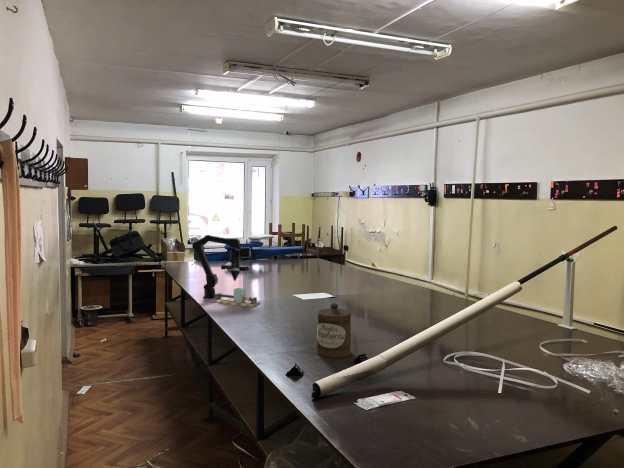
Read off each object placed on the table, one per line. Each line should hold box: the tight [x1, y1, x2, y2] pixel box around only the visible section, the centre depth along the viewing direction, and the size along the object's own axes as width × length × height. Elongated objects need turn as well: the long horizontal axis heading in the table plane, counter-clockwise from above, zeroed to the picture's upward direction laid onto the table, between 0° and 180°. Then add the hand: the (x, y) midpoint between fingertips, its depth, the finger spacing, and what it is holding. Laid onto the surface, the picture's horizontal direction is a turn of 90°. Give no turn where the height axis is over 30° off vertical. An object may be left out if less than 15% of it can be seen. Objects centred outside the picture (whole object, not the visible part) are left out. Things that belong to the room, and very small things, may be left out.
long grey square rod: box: [218, 293, 255, 301], centre depth 306 cm, size 29×2×2 cm, turn 65°
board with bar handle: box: [210, 292, 261, 308], centre depth 306 cm, size 30×11×5 cm, turn 65°
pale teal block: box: [233, 287, 247, 302], centre depth 304 cm, size 6×5×8 cm
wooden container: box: [316, 302, 352, 359], centre depth 210 cm, size 15×15×22 cm
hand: (234, 280), depth 318 cm, fingers closed
